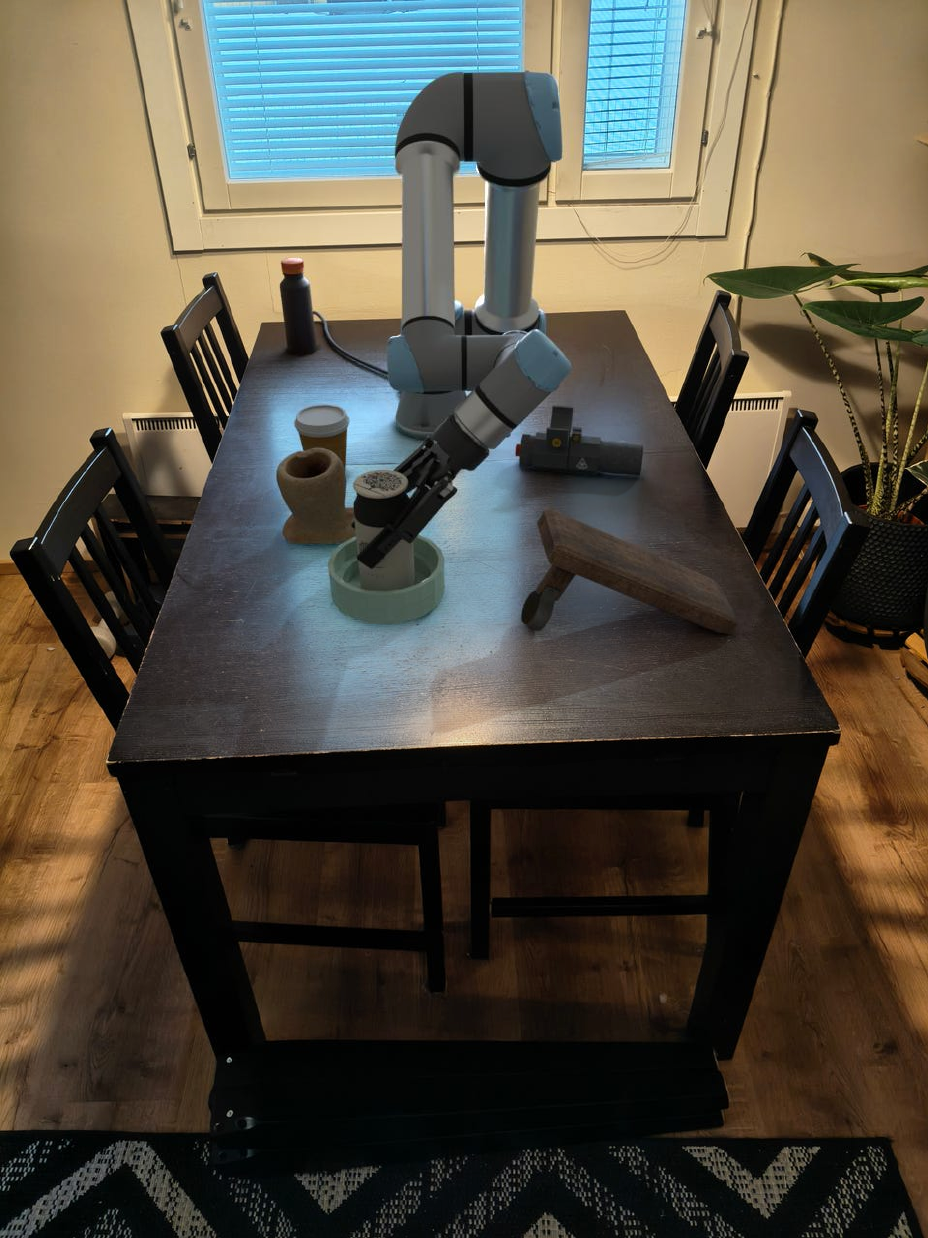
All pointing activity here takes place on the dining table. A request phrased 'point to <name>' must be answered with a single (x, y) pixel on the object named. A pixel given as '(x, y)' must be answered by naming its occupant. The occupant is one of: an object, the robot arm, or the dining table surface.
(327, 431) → the disposable coffee cup
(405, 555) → the travel mug
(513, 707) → the dining table surface
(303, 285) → the water bottle
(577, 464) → the laser sight
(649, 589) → the dark brown angled bar
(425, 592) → the bowl
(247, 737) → the dining table surface
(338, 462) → the stone cup
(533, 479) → the dining table surface
